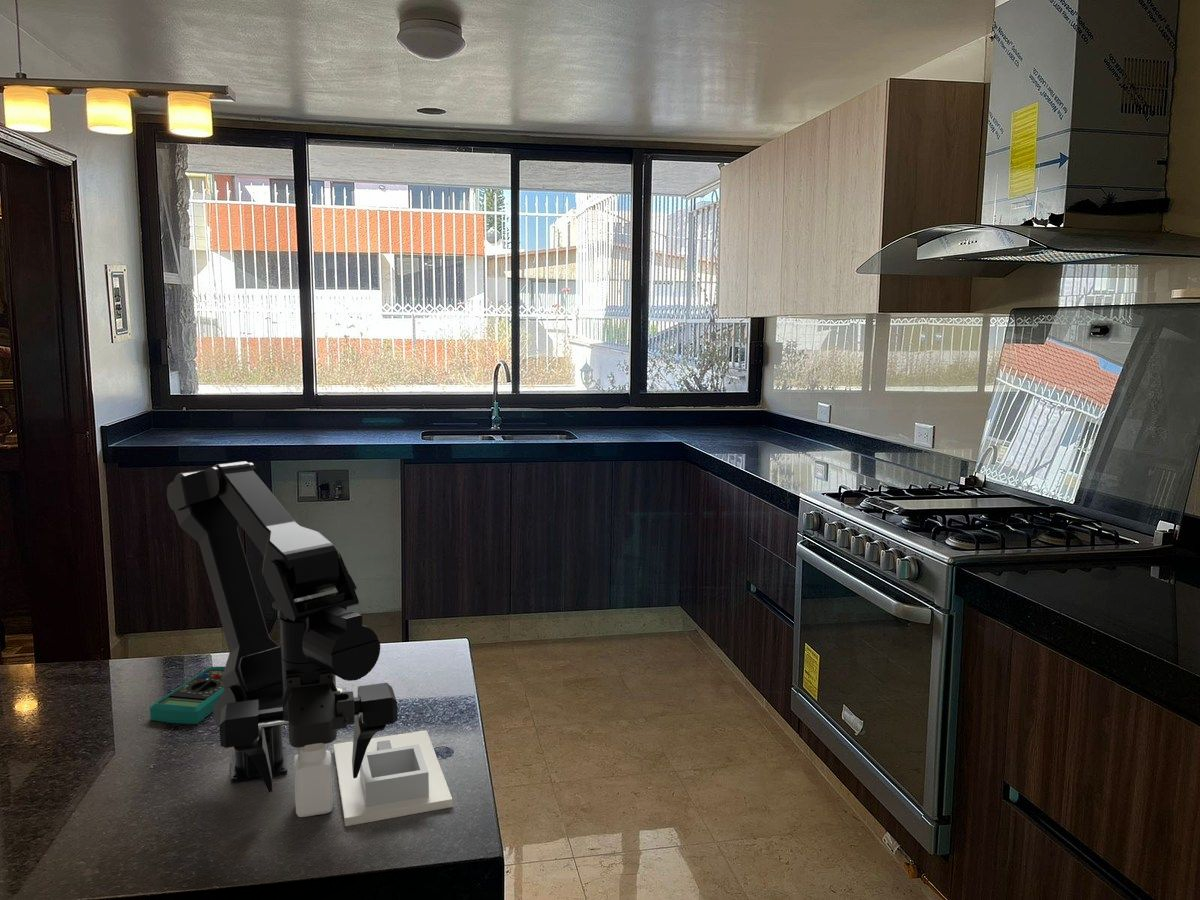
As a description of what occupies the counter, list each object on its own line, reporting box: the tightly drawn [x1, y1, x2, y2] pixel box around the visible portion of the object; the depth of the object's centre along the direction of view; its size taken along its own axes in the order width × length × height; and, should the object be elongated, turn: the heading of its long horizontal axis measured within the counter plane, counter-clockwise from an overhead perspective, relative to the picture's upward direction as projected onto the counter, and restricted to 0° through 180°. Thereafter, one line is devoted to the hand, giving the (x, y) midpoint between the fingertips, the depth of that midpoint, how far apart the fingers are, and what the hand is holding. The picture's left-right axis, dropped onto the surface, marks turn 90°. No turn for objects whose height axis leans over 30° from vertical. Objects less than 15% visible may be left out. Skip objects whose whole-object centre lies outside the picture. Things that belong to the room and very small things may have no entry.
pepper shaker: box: [293, 743, 334, 818], centre depth 102 cm, size 4×4×10 cm
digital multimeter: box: [149, 666, 225, 725], centre depth 130 cm, size 7×15×3 cm, turn 171°
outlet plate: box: [333, 729, 454, 827], centre depth 109 cm, size 18×12×4 cm, turn 20°
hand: (313, 783), depth 102 cm, fingers open, 9 cm apart
